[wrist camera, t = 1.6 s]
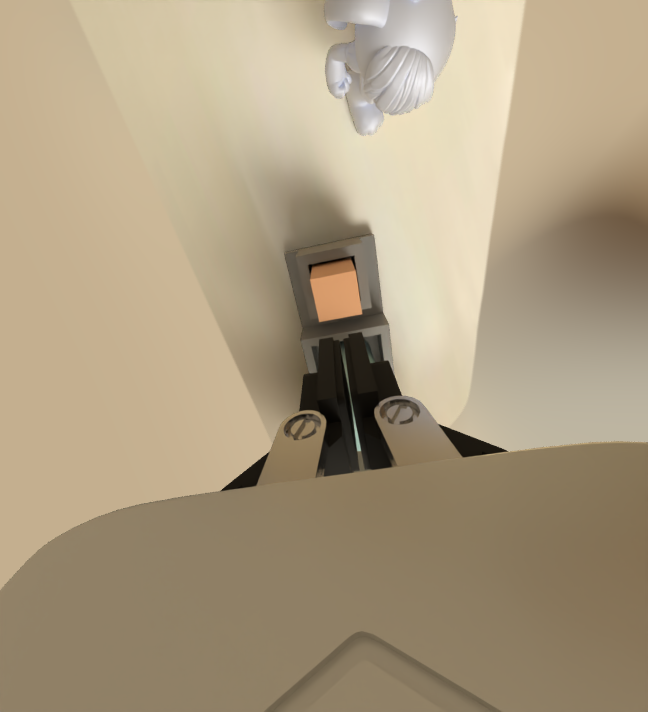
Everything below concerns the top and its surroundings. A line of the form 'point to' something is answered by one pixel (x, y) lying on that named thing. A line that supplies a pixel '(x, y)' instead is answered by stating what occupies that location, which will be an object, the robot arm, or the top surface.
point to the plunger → (335, 290)
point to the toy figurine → (388, 55)
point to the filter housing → (369, 292)
